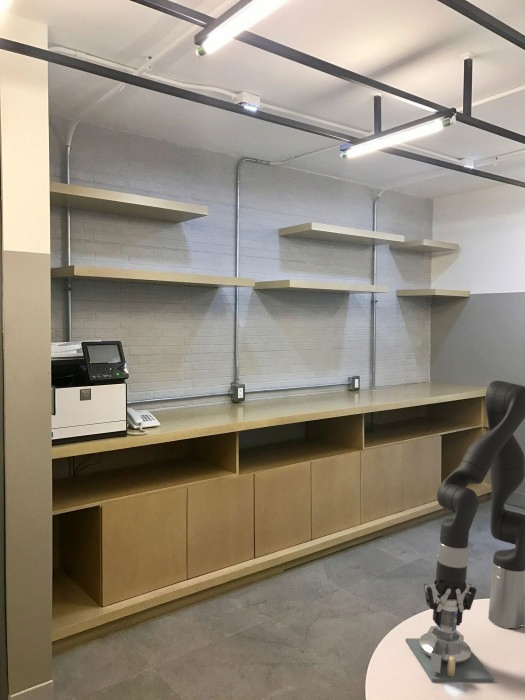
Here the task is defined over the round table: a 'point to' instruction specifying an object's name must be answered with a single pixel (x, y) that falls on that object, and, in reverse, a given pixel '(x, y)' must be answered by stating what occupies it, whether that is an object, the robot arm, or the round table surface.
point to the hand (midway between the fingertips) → (447, 623)
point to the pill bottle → (449, 616)
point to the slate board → (460, 668)
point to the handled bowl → (444, 647)
